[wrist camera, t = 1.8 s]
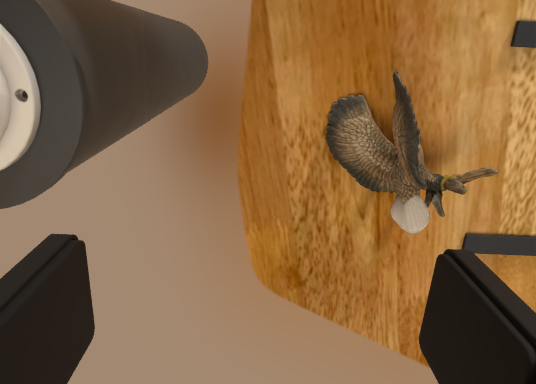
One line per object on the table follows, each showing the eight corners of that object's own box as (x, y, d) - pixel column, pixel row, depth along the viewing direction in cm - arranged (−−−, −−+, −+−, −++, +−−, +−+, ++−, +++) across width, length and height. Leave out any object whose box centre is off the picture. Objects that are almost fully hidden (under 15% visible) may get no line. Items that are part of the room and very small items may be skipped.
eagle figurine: (491, 126, 26) (403, 40, 23) (508, 213, 22) (403, 123, 19) (396, 174, 32) (314, 110, 28) (395, 252, 28) (298, 187, 24)
